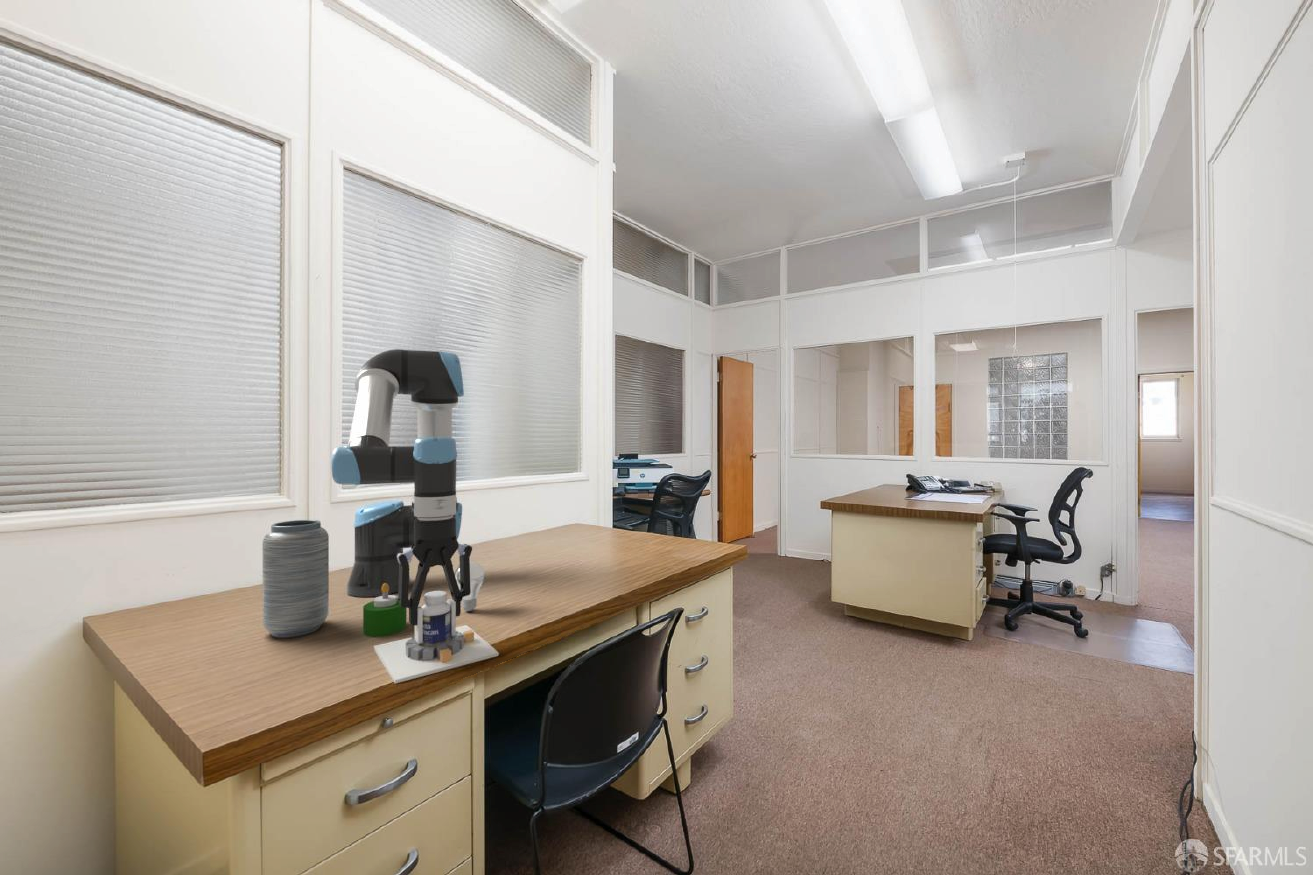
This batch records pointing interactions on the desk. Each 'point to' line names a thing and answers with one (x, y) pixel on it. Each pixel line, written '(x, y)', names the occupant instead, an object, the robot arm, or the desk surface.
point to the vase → (295, 578)
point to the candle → (384, 615)
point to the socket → (432, 655)
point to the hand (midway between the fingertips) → (435, 636)
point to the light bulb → (471, 585)
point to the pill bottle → (436, 619)
